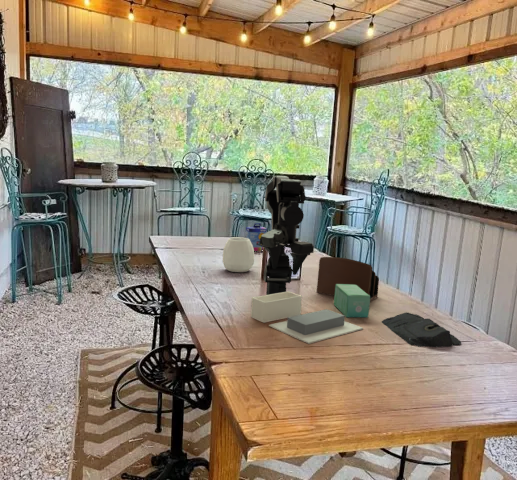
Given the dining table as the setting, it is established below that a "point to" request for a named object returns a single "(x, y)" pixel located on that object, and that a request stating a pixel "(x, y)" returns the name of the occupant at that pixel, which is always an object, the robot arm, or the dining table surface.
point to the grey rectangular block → (315, 321)
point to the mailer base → (276, 306)
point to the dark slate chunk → (420, 331)
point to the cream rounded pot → (238, 254)
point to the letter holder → (346, 275)
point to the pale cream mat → (318, 335)
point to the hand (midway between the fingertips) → (284, 271)
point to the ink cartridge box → (255, 235)
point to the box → (351, 300)
